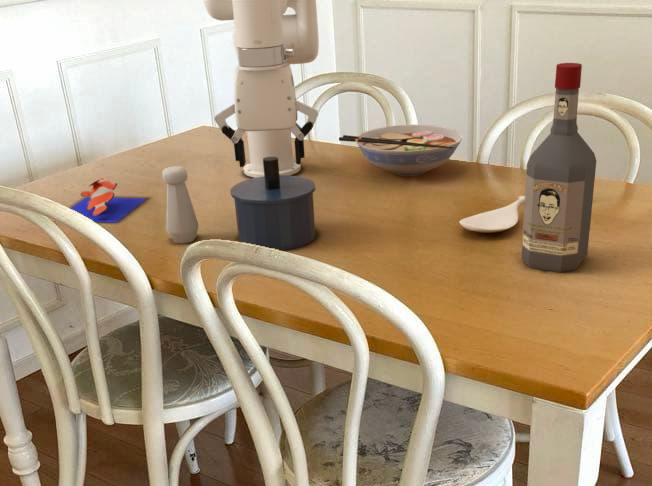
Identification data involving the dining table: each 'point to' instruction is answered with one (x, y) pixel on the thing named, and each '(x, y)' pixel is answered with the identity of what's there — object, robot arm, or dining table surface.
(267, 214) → the pot
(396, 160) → the ramen bowl
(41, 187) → the dining table surface
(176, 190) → the salt shaker
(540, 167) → the liquor
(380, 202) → the dining table surface
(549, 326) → the dining table surface
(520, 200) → the spoon
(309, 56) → the robot arm
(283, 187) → the lid
